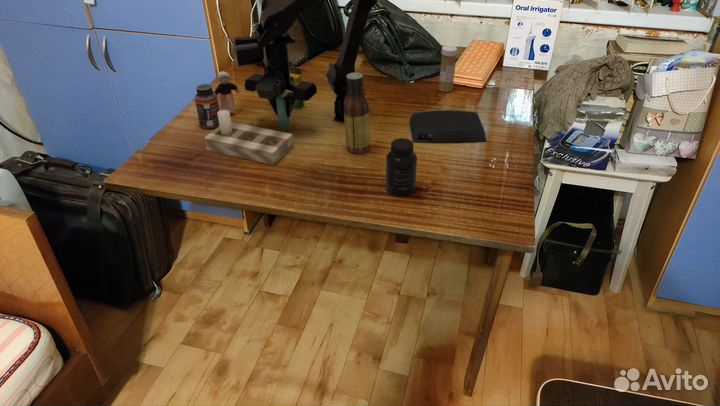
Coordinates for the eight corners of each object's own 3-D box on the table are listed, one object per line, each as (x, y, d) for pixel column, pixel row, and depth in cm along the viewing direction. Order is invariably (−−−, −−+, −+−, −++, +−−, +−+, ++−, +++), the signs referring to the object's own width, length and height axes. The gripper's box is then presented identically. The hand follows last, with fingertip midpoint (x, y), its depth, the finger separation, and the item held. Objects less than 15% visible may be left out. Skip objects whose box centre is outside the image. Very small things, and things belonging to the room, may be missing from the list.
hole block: (293, 146, 137) (292, 134, 135) (274, 165, 129) (272, 153, 127) (228, 132, 143) (226, 120, 141) (206, 150, 135) (204, 138, 133)
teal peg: (292, 126, 145) (289, 96, 140) (286, 131, 143) (283, 100, 138) (282, 124, 146) (279, 94, 141) (277, 129, 144) (273, 98, 139)
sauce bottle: (373, 144, 137) (374, 72, 125) (365, 156, 132) (365, 82, 120) (349, 140, 139) (348, 68, 127) (341, 152, 134) (339, 78, 122)
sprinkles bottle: (436, 87, 165) (440, 45, 157) (450, 86, 166) (454, 44, 158) (440, 93, 162) (444, 50, 154) (455, 92, 162) (459, 49, 154)
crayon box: (277, 105, 156) (273, 67, 149) (282, 101, 158) (278, 63, 151) (299, 109, 154) (296, 71, 147) (304, 105, 156) (301, 67, 149)
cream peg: (236, 141, 139) (231, 110, 133) (230, 147, 136) (225, 116, 131) (227, 139, 140) (221, 108, 134) (220, 145, 137) (214, 114, 132)
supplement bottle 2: (383, 180, 123) (384, 135, 116) (412, 179, 124) (415, 134, 117) (387, 197, 118) (388, 151, 111) (417, 196, 118) (420, 150, 111)
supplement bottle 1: (216, 130, 144) (209, 92, 137) (196, 128, 145) (188, 90, 138) (225, 120, 148) (218, 83, 142) (205, 118, 149) (198, 81, 143)
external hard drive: (408, 121, 148) (409, 108, 145) (477, 121, 148) (479, 108, 145) (412, 145, 137) (413, 131, 135) (486, 144, 137) (488, 131, 135)
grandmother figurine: (221, 119, 149) (213, 77, 141) (215, 114, 151) (207, 73, 144) (245, 111, 153) (238, 69, 145) (238, 106, 155) (231, 65, 148)
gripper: (228, 67, 130) (237, 123, 140) (295, 78, 125) (300, 135, 134) (252, 51, 139) (259, 105, 148) (316, 61, 133) (319, 116, 142)
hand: (283, 116), depth 143 cm, fingers closed on teal peg, 3 cm apart
